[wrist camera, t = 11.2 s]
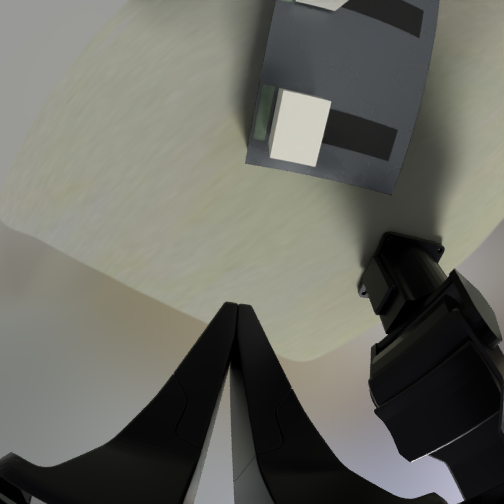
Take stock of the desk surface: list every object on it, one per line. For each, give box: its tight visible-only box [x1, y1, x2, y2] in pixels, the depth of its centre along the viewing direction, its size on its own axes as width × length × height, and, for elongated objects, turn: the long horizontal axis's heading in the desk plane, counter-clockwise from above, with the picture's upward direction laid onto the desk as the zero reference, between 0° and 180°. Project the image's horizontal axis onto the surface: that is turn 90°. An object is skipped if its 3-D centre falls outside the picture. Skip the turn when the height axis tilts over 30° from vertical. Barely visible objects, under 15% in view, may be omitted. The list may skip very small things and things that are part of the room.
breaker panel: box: [245, 0, 439, 195], centre depth 13 cm, size 9×14×3 cm, turn 171°
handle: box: [268, 88, 331, 167], centre depth 12 cm, size 2×3×3 cm, turn 170°
